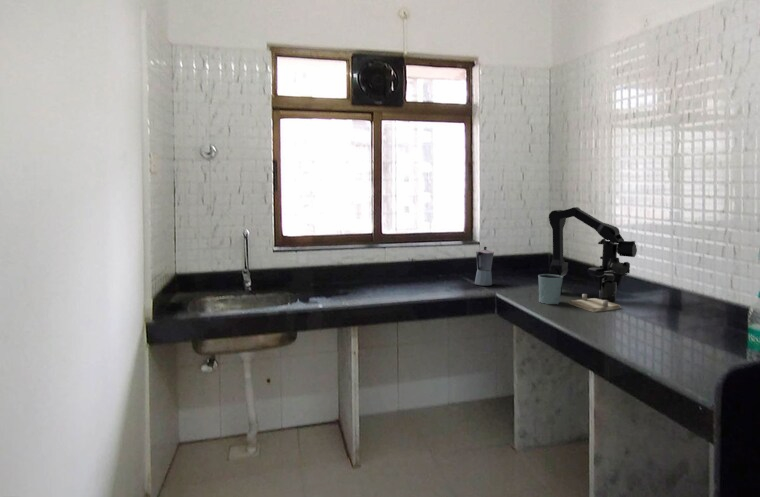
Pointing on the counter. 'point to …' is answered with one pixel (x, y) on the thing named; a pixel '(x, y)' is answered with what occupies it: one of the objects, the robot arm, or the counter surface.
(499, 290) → the counter surface
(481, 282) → the moka pot
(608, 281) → the supplement bottle
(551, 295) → the teal tapered cup
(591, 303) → the locating pad
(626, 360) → the counter surface
